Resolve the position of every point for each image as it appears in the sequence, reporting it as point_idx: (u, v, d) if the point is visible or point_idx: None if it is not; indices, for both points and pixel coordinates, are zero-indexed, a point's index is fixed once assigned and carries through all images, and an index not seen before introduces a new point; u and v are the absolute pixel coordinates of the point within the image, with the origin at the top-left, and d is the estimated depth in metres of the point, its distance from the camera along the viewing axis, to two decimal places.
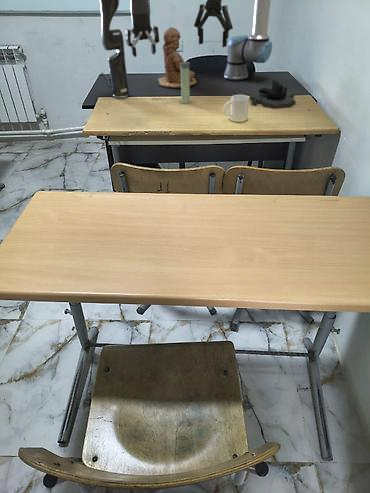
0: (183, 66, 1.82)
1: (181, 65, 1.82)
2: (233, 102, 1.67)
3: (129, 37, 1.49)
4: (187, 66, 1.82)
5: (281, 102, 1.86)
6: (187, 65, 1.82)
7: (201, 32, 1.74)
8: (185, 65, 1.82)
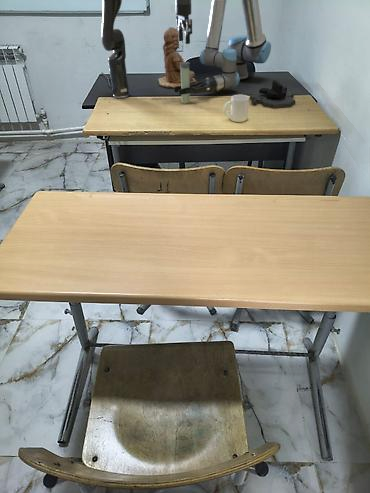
0: (183, 66, 1.82)
1: (181, 65, 1.82)
2: (233, 102, 1.67)
3: None
4: (187, 66, 1.82)
5: (281, 102, 1.86)
6: (187, 65, 1.82)
7: None
8: (185, 65, 1.82)
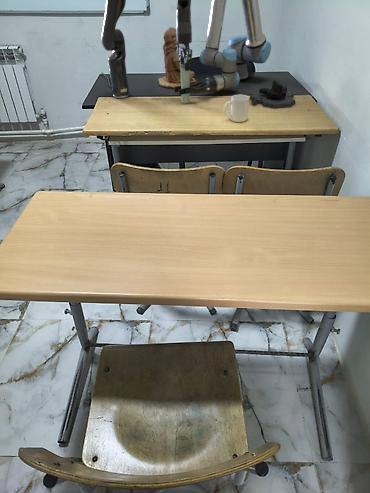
0: (183, 66, 1.82)
1: (181, 65, 1.82)
2: (233, 102, 1.67)
3: None
4: None
5: (281, 102, 1.86)
6: None
7: None
8: None
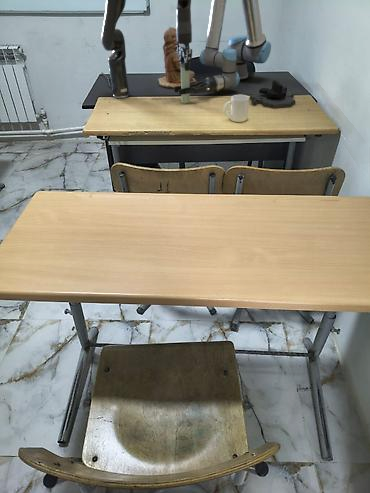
0: (189, 65, 1.83)
1: None
2: (233, 102, 1.67)
3: None
4: None
5: (281, 102, 1.86)
6: None
7: None
8: (189, 63, 1.83)
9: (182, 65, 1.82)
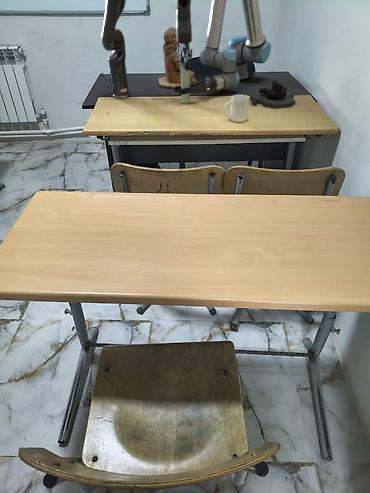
0: None
1: None
2: (233, 102, 1.67)
3: None
4: None
5: (281, 102, 1.86)
6: None
7: None
8: None
9: None
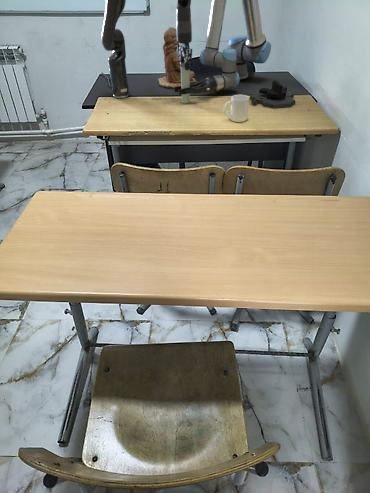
0: None
1: None
2: (233, 102, 1.67)
3: None
4: (180, 65, 1.83)
5: (281, 102, 1.86)
6: (180, 64, 1.83)
7: None
8: None
9: None
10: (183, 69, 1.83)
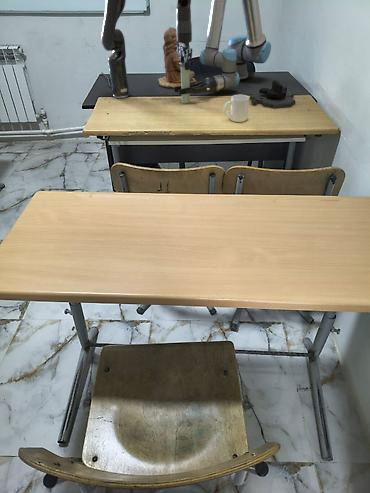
0: (181, 65, 1.82)
1: (180, 63, 1.83)
2: (233, 102, 1.67)
3: None
4: (184, 65, 1.82)
5: (281, 102, 1.86)
6: (184, 65, 1.81)
7: None
8: (182, 64, 1.82)
9: None
10: (183, 69, 1.83)
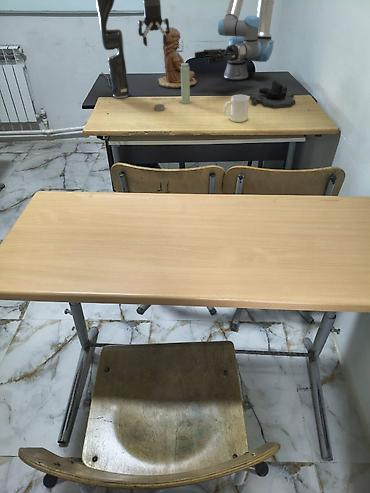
0: None
1: None
2: (233, 102, 1.67)
3: None
4: None
5: (281, 102, 1.86)
6: None
7: None
8: None
9: (160, 108, 1.86)
10: (183, 69, 1.83)
